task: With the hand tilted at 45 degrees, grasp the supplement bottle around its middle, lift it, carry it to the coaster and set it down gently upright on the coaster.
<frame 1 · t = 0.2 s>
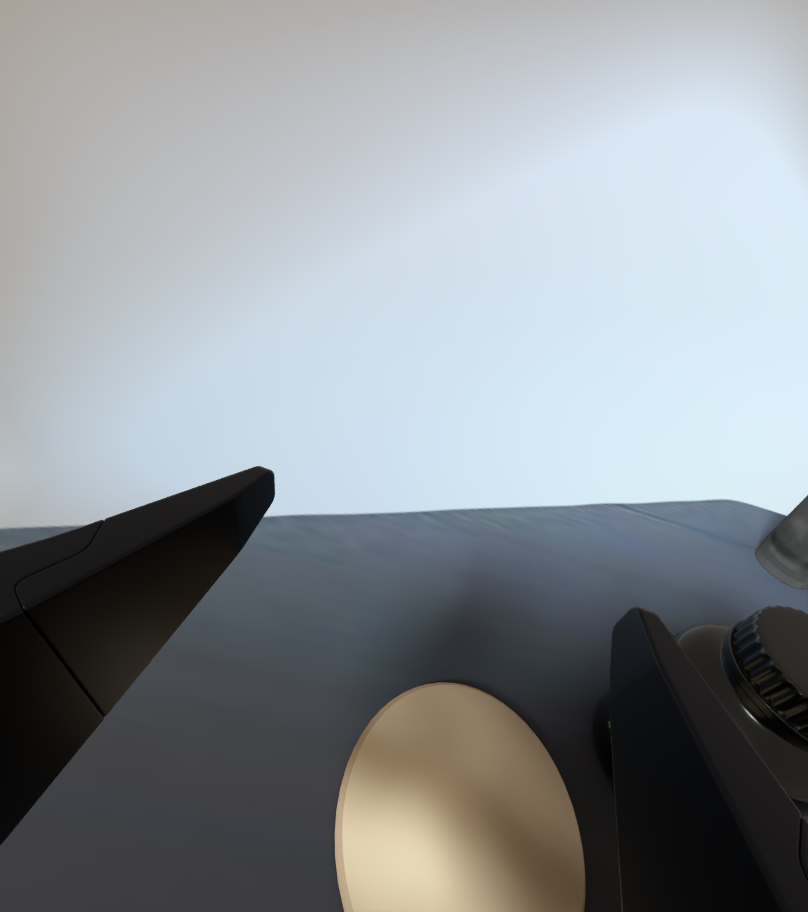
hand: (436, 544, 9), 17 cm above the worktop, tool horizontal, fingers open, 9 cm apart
coaster: (459, 819, 18), on the worktop
supplement bottle: (647, 755, 22), on the worktop
beverage cup: (781, 568, 35), on the worktop
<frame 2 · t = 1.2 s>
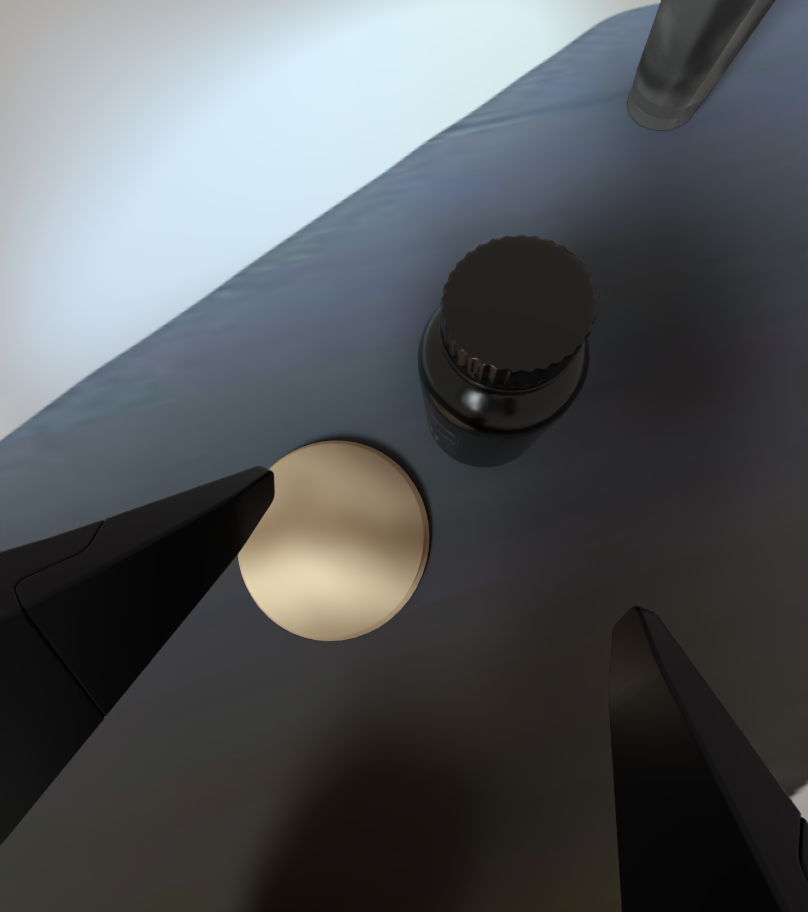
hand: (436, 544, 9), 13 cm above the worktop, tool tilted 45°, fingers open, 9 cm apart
coaster: (332, 535, 23), on the worktop
supplement bottle: (481, 415, 24), on the worktop
beverage cup: (659, 106, 27), on the worktop
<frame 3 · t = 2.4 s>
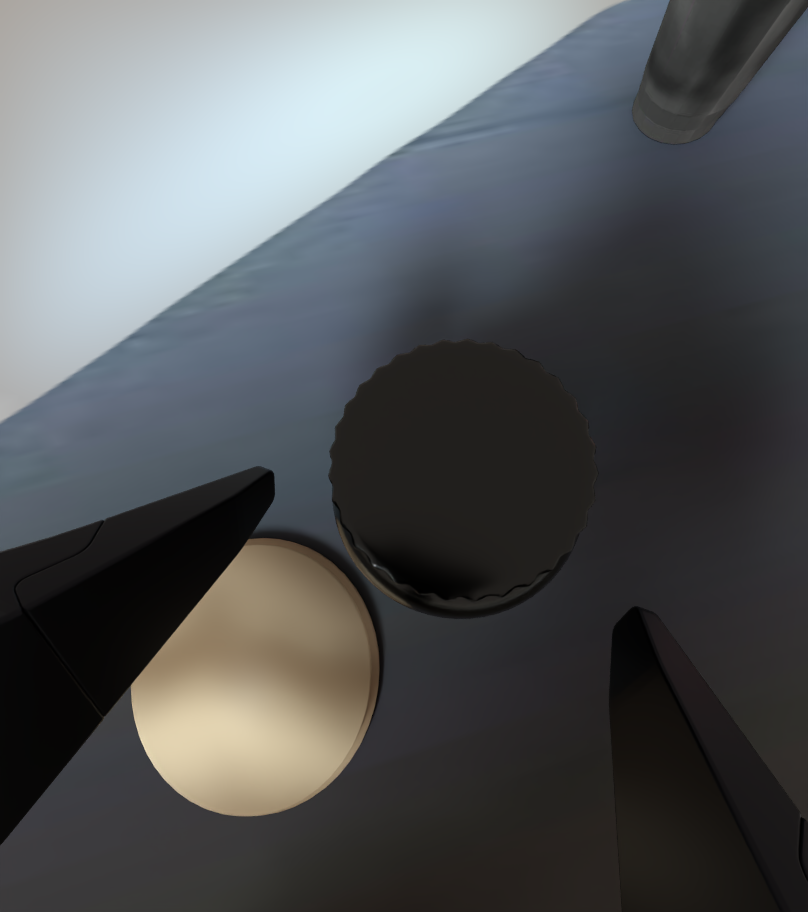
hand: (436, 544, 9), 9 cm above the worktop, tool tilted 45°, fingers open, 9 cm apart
coaster: (256, 665, 18), on the worktop
supplement bottle: (449, 506, 19), on the worktop
beverage cup: (672, 114, 22), on the worktop
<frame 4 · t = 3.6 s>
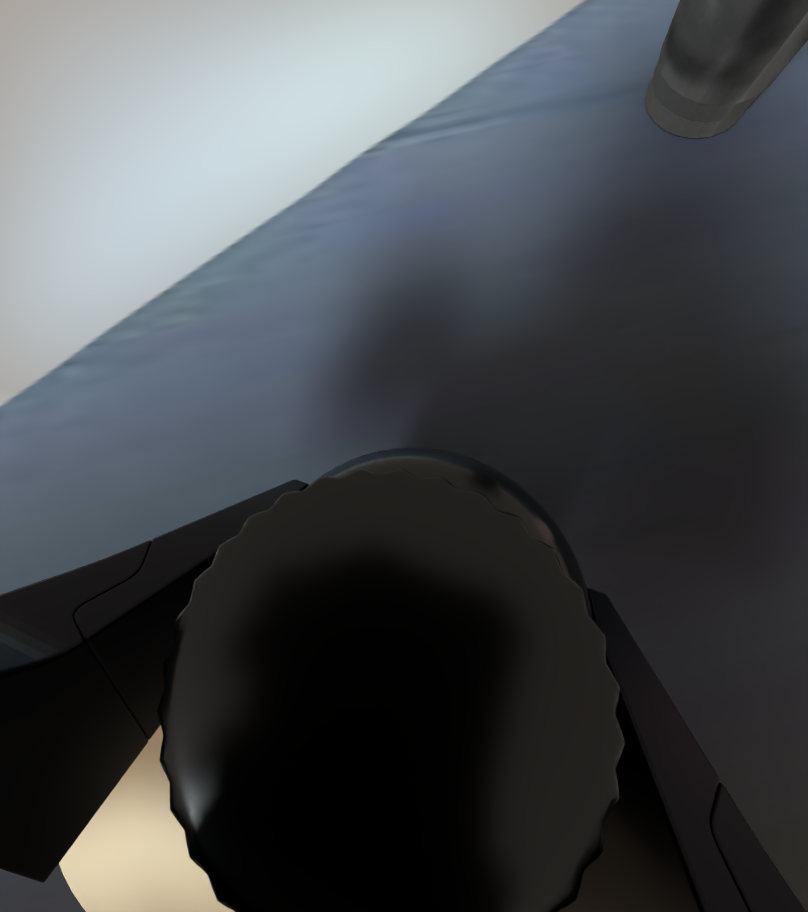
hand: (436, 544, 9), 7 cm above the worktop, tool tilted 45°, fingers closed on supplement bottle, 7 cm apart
coaster: (197, 762, 15), on the worktop
supplement bottle: (427, 570, 16), on the worktop, touching gripper
beverage cup: (692, 104, 19), on the worktop
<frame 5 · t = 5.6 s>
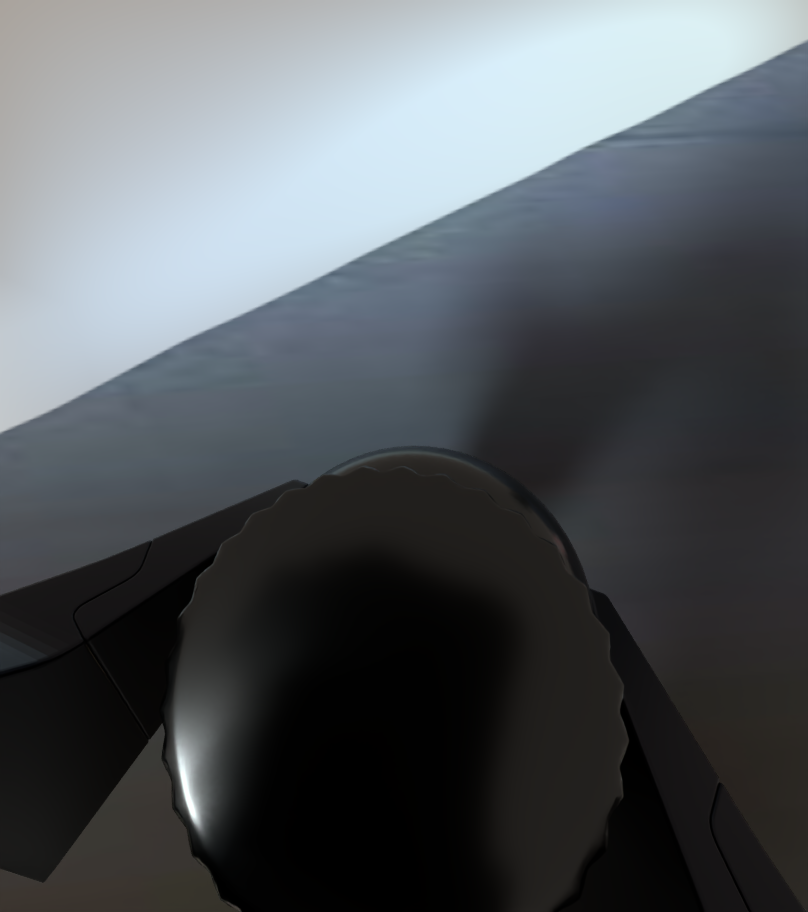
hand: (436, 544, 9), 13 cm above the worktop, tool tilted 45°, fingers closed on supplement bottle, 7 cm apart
supplement bottle: (428, 569, 16), point 6 cm above the worktop, touching gripper
when the fingers open (8 cm above the worktop, at t = 7.5 s): supplement bottle stays where it is, resting on coaster.
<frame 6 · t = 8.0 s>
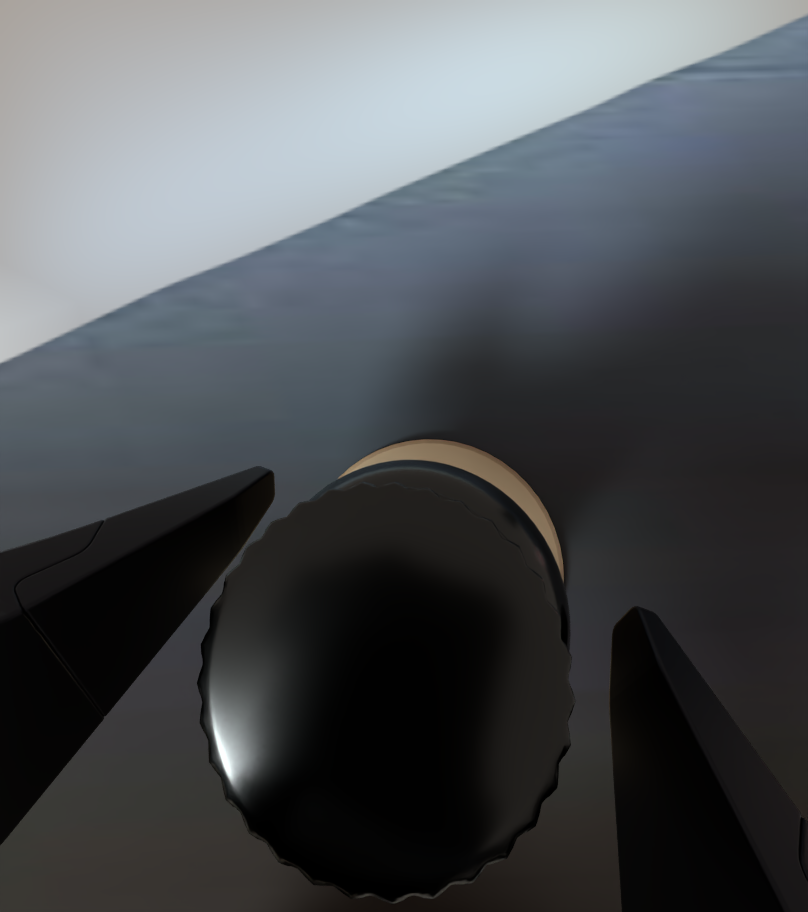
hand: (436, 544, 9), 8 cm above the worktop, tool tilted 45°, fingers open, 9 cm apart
coaster: (428, 566, 17), on the worktop
supplement bottle: (426, 572, 16), point 1 cm above the worktop, touching coaster
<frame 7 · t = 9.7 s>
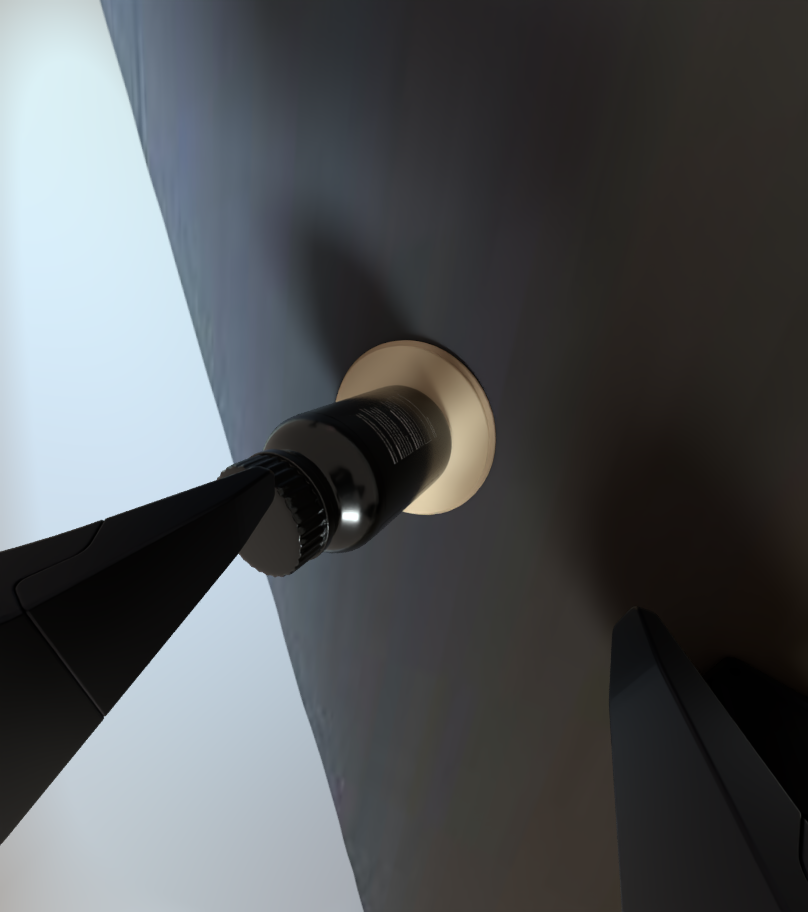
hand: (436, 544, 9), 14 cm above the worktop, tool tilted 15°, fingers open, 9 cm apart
coaster: (408, 432, 25), on the worktop
supplement bottle: (406, 436, 24), point 1 cm above the worktop, touching coaster
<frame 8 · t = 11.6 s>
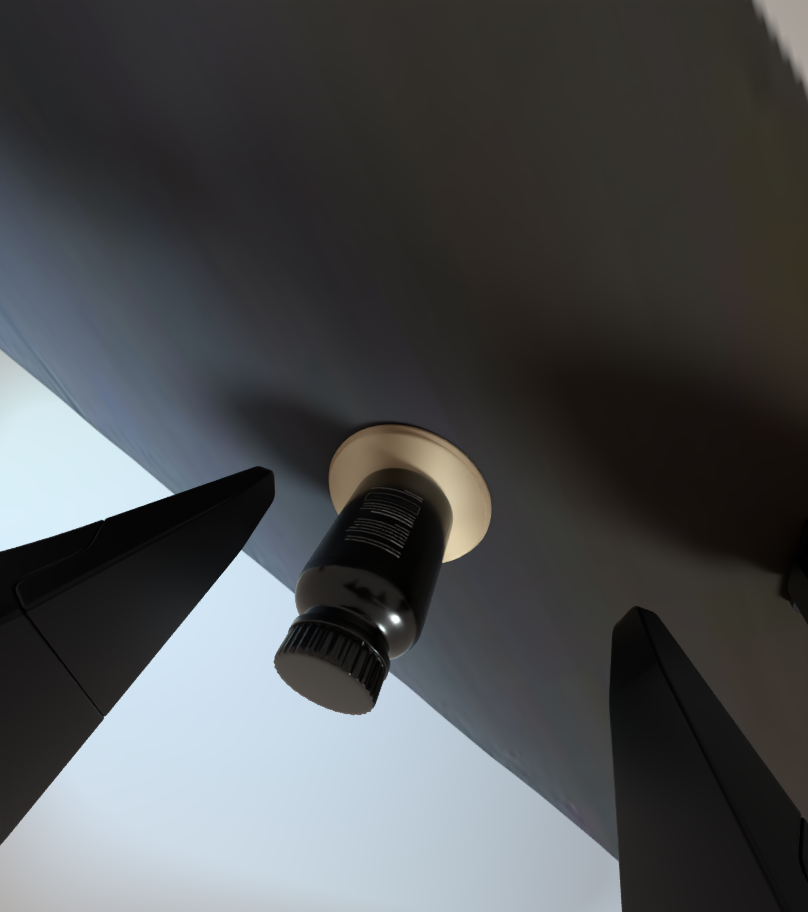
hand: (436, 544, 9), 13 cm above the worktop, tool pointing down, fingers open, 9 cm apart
coaster: (406, 498, 26), on the worktop
supplement bottle: (406, 504, 26), point 1 cm above the worktop, touching coaster
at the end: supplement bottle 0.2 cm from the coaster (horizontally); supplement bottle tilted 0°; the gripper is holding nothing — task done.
